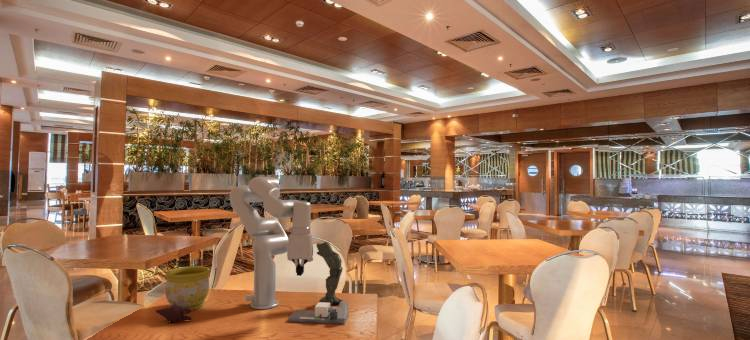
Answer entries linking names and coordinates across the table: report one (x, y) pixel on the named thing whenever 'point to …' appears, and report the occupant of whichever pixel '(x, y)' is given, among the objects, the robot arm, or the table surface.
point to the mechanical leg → (331, 272)
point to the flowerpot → (187, 286)
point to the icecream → (174, 313)
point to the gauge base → (332, 318)
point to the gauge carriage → (323, 309)
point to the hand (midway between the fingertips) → (299, 274)
